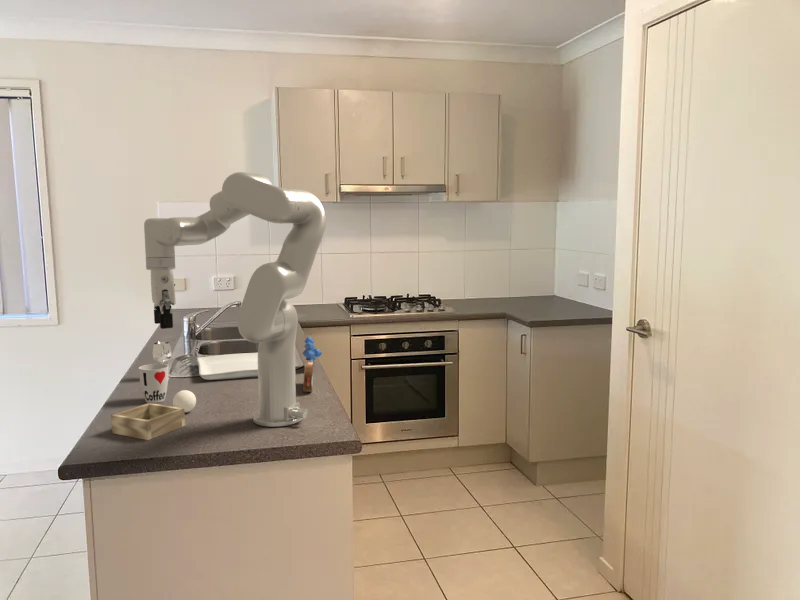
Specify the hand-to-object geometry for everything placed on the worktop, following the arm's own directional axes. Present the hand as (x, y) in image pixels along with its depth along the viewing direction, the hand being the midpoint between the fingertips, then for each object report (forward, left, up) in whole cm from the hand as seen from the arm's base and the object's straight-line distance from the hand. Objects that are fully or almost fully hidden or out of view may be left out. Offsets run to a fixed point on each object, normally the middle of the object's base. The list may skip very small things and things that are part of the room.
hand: (163, 325), depth 180 cm
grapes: (-13, -55, -23) cm, 61 cm away
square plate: (+9, -43, -24) cm, 49 cm away
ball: (-9, +2, -20) cm, 22 cm away
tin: (-26, -33, -23) cm, 48 cm away
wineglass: (+24, -23, -23) cm, 40 cm away
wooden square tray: (-11, +17, -23) cm, 31 cm away
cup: (+7, -3, -23) cm, 24 cm away
